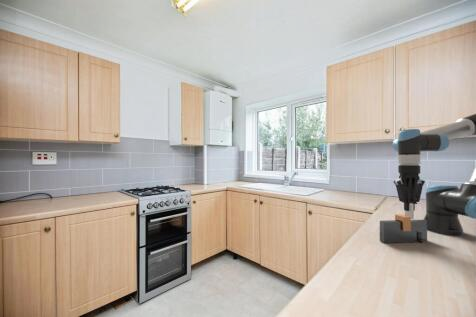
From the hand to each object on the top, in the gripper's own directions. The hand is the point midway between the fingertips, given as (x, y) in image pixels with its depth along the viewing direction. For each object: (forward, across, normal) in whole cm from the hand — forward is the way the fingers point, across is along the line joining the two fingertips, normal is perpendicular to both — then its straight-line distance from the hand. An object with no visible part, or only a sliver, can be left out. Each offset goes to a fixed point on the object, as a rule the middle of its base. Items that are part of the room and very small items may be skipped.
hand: (409, 218), depth 92 cm
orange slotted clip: (+5, +3, 0) cm, 6 cm away
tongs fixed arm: (+10, +2, 0) cm, 10 cm away
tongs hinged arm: (+10, +5, +1) cm, 11 cm away
